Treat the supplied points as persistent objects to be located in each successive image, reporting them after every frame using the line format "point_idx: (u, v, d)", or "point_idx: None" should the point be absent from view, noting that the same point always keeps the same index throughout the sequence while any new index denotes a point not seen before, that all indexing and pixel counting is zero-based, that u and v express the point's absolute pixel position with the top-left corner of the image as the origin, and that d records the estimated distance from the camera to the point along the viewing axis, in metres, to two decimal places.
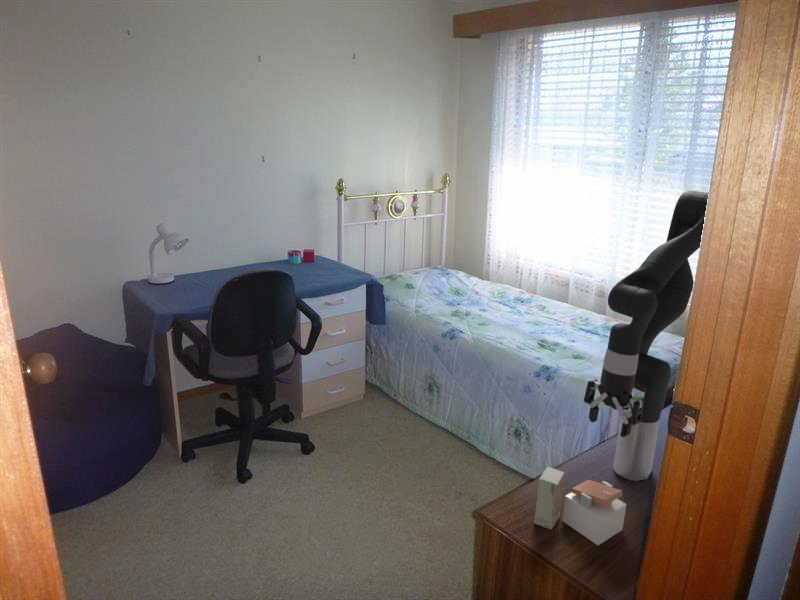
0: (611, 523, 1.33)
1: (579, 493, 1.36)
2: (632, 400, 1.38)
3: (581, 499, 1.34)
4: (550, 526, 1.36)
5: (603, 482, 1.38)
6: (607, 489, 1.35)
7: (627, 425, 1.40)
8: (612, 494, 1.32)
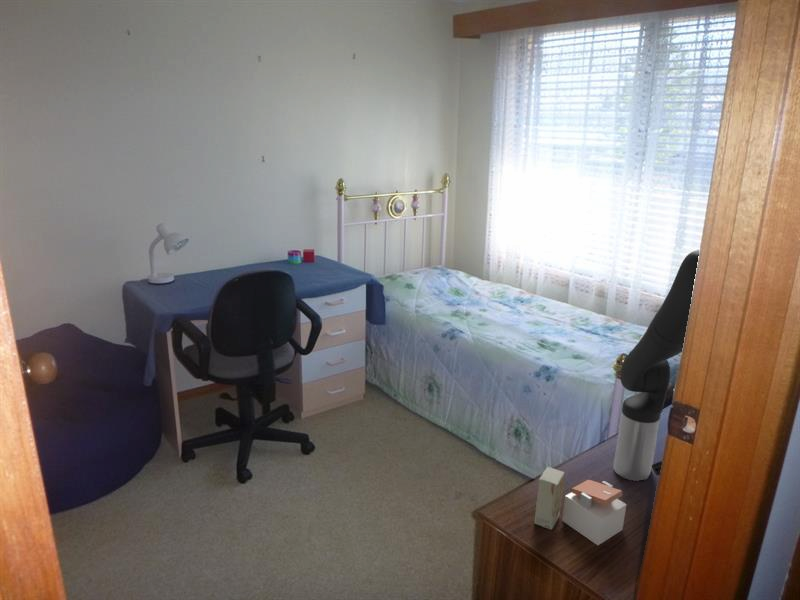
0: (611, 523, 1.33)
1: (579, 493, 1.36)
2: None
3: (581, 499, 1.34)
4: (550, 526, 1.36)
5: (603, 482, 1.38)
6: (607, 489, 1.35)
7: None
8: (612, 494, 1.32)
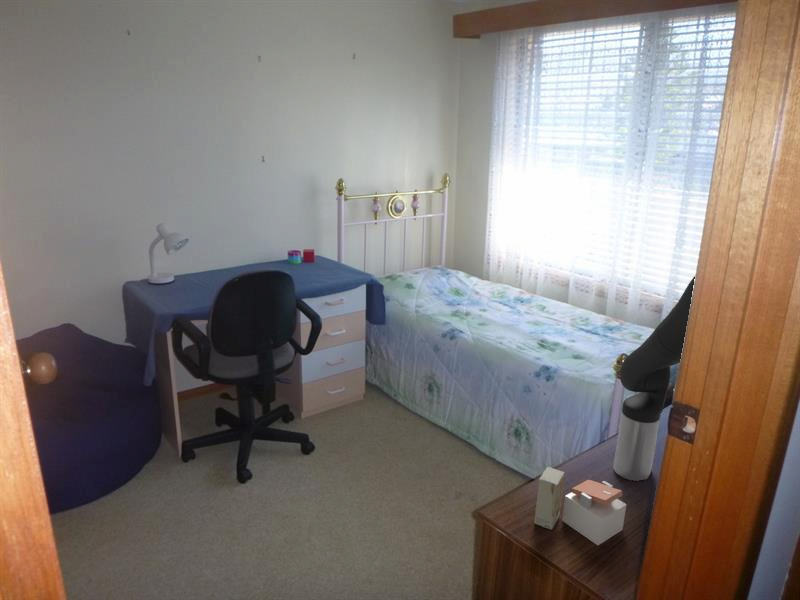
0: (611, 523, 1.33)
1: (579, 493, 1.36)
2: None
3: (581, 499, 1.34)
4: (550, 526, 1.36)
5: (603, 482, 1.38)
6: (607, 489, 1.35)
7: None
8: (612, 494, 1.32)
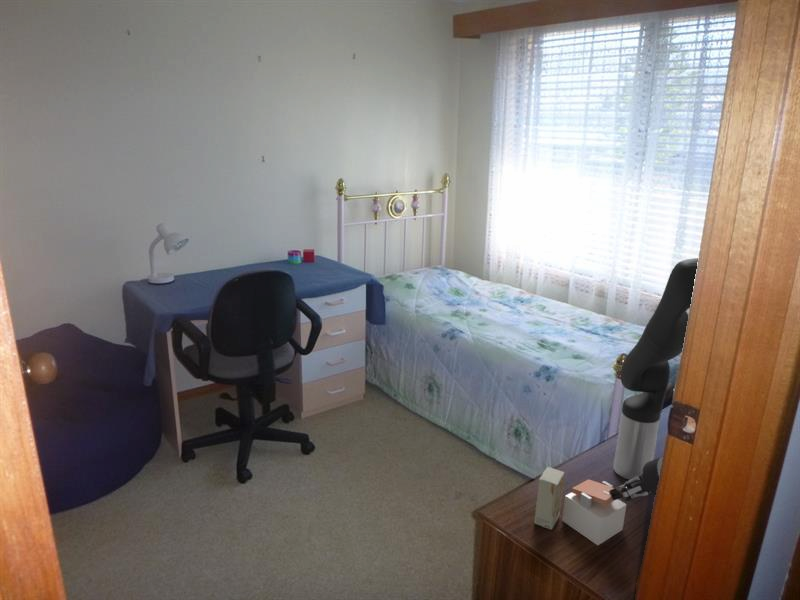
0: (611, 523, 1.33)
1: (579, 493, 1.36)
2: None
3: (581, 499, 1.34)
4: (550, 526, 1.36)
5: (603, 482, 1.38)
6: (607, 489, 1.35)
7: None
8: None
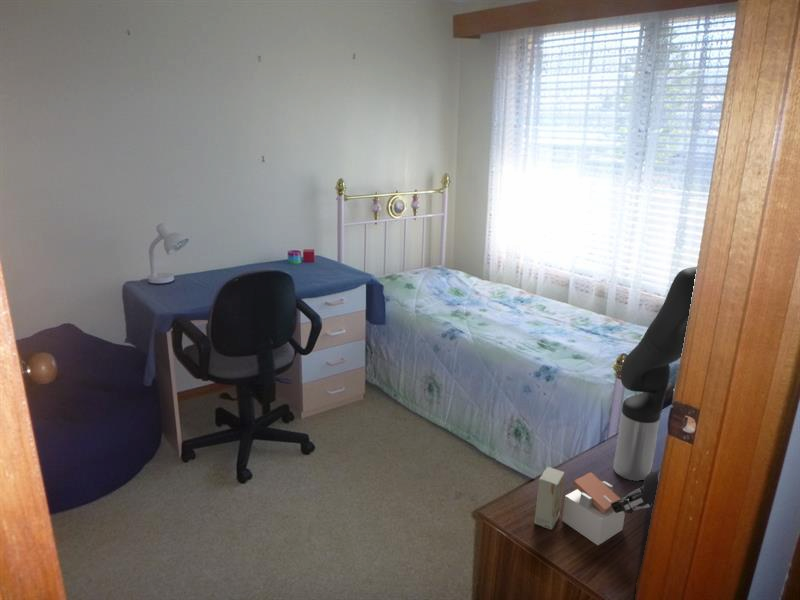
0: (611, 523, 1.33)
1: (580, 488, 1.35)
2: None
3: (581, 499, 1.34)
4: (550, 526, 1.36)
5: (603, 482, 1.38)
6: (608, 493, 1.35)
7: None
8: (612, 502, 1.32)
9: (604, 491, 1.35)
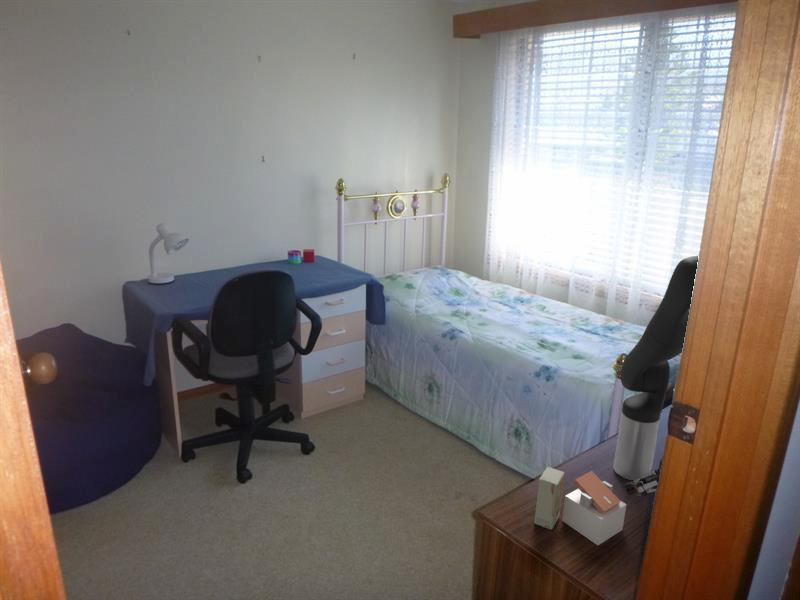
0: (611, 523, 1.33)
1: (580, 488, 1.35)
2: None
3: (581, 499, 1.34)
4: (550, 526, 1.36)
5: (603, 482, 1.38)
6: (608, 494, 1.35)
7: None
8: (611, 504, 1.32)
9: (604, 492, 1.35)
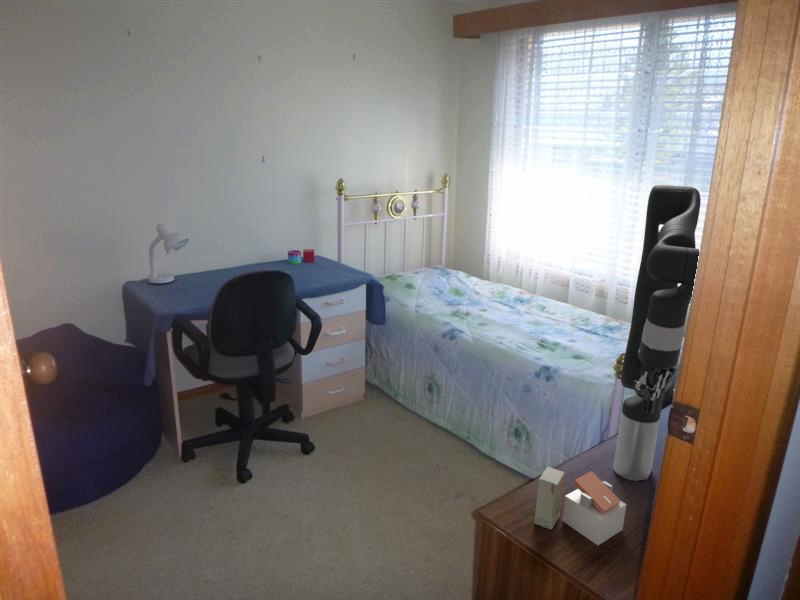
0: (611, 523, 1.33)
1: (580, 488, 1.35)
2: None
3: (581, 499, 1.34)
4: (550, 526, 1.36)
5: (603, 482, 1.38)
6: (608, 494, 1.35)
7: None
8: (612, 504, 1.32)
9: (604, 491, 1.35)
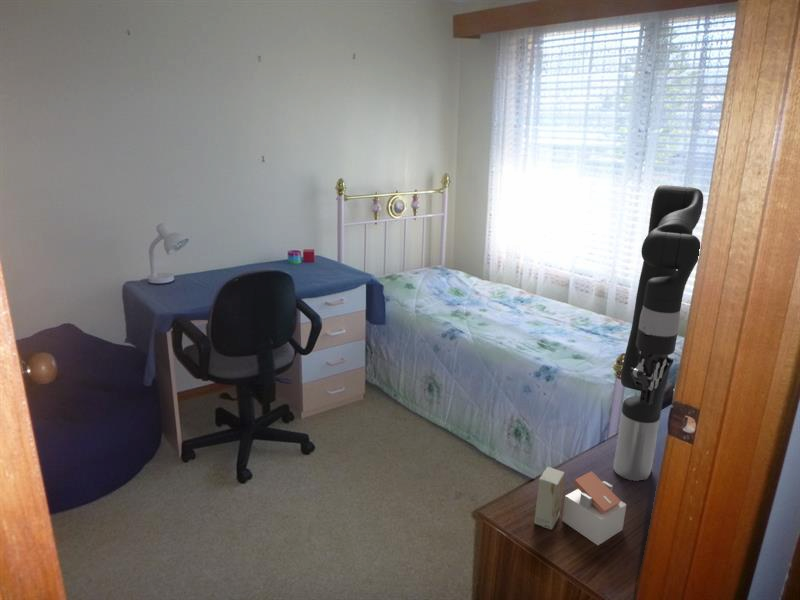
0: (611, 523, 1.33)
1: (580, 488, 1.35)
2: (666, 357, 1.27)
3: (581, 499, 1.34)
4: (550, 526, 1.36)
5: (603, 482, 1.38)
6: (608, 494, 1.35)
7: None
8: (612, 504, 1.32)
9: (604, 491, 1.35)
